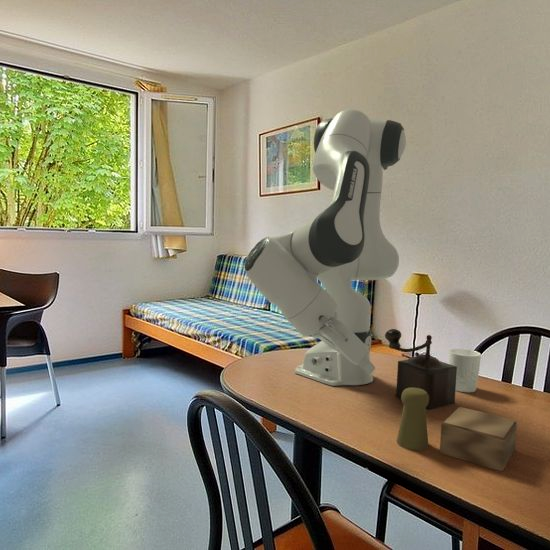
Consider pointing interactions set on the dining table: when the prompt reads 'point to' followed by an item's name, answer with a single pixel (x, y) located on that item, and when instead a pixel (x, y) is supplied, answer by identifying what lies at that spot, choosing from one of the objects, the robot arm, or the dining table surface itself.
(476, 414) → the walnut block
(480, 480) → the dining table surface
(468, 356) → the white cup
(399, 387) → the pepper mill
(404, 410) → the olive knobbed peg
